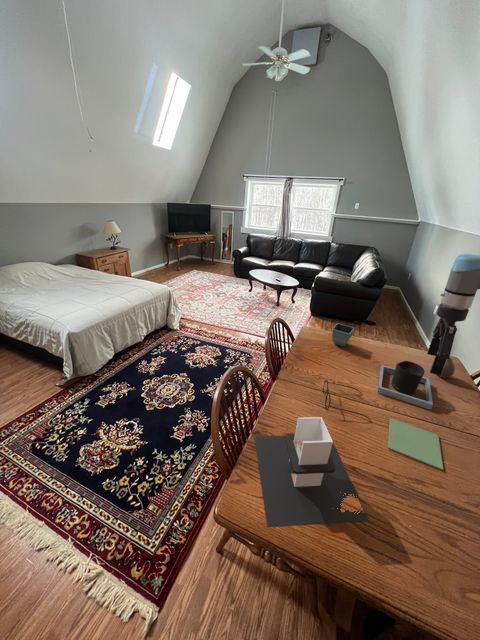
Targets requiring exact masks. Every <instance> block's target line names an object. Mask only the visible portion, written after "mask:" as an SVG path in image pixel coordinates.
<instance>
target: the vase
mask: <svg viewBox="0 0 480 640" xmlns="http://www.w3.org/2000/svg"><path fill="white" fill-rule="evenodd" d="M455 371H456V366H455V364H454V361H453V359H452V358H451V357H450V358H449V360H448V359H446V362H445V364H444V367H443V369H442V372H441V375H436V376H437V377H439V378H442V379H449V378H451V377H452V376H453V375H455V374H454V373H455Z"/></svg>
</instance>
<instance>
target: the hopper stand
mask: <svg viewBox="0 0 480 640" xmlns="http://www.w3.org/2000/svg"><path fill="white" fill-rule="evenodd" d="M253 439H254V446H255V452H256V460H257V466H258V473H259V479H260V480H259V481H260V488H261V494H262V500H263V507H264V515H265V522H266V527H267V528H270V527H285V526H286V527H287V526H300V525H301V526H303V525H318V524H319V525H321V524H322V525H323V524H337V523H352V522H353V523H355V522H370V520H369V517H368V515H367V513H366V512H365V513H362V512H363V511H365V509H364V507H363V509H364V510H363V511H361V512H360V513H358V512H359V511H357V512H356V511H354V512H349V510H347V511H345V512H343V513H342V512H341V510H340V509H341V505H342V504H341V503H342V502H341V501H343V500H344V499H343V498H347V497H346V496H349V495H348V494H354V496H355V498H359V496H358V493H357V491H356V489H355V487H354V484H353V483H352V480H351V478H350V476H349V473H348V471H347V469H346V468H345V465H344V462H343V460H342V459H341V457H340V454H339V452H338V450H337V447H336V446H335V444H334V441H333V439H332V436H331V435H330V432H329V430H328V428H327V425H326V423H325V422H324V419H323V417H322V416H311V417H308V416H306V417H305V416H303V417H297V422H296V427H295V432H294V433H289V434H286V435H262V436H261V435H257V436H255V435H254V437H253ZM340 492H341V493H340ZM344 493H346V495H345V494H344ZM343 495H344V496H343ZM352 496H353V495H352ZM356 496H357V497H356ZM342 499H343V500H342ZM340 504H341V505H340ZM362 506H363V505H362ZM362 506H361V507H362ZM332 508H333V509H332ZM337 508H338V509H337ZM355 512H356V513H355ZM354 513H355V514H354ZM357 513H358V514H357Z"/></svg>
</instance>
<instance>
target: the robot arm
mask: <svg viewBox="0 0 480 640" xmlns="http://www.w3.org/2000/svg"><path fill="white" fill-rule="evenodd" d="M452 263H453V264H452V266H451V268H450V272H449V275H448V278H447V281H446V285H445V288H444V291H443V292H442V293H440V297H441V299H440V303H439V305H438V308H437V310H436V316H437V317H438V318H439V319H438V321H437V324H436V325H435V327H434V329H433V331H432V338H431V342H430V344H429V347H428V350H427V352H426V354H427V355H429V356H434V359H433V362H432V365H431V368H430V371H429V374H431V375H432V374H433V375H436V376H437V375H441V372H442V369H443V367H444V364H445V362H446V359H448V360H449V358H451V357H450V356H451V353H452V349H453V344H454V341H455V336H456V334H457V331H458V327H457V325H456V323H457V322H465V321H466V319H467V317H468V314H469V312H470V310H469V309H470V308H471V307H472V305H473V302H474V300H475V297H476V294H477V292H478V290H480V254H479V255H478V254H467V253H465V254H464V253H463V254H458V255H457V256H456V257H455V259H454V261H453V262H452Z"/></svg>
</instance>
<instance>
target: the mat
mask: <svg viewBox="0 0 480 640" xmlns="http://www.w3.org/2000/svg"><path fill="white" fill-rule="evenodd" d="M387 440H388V441H387V449H388V450H389V451H393V452H394V453H397V454H400V455H403V456H404V457H407V458H410V459H412V460H415V461H417V462H419V463H422V464H425V465H427V466H429V467H431V468H435V469H437V470H439V471H444V465H443V458H442V451H441V443H440V439H439V434H437V433H434V432H431V431H429V430H425V429H423V428H420V427H418V426H414V425H411V424H410V423H409V424H408V423H406V422H403V421H401V420H398V419H395V418H392V417H389V426H388V439H387Z"/></svg>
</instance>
